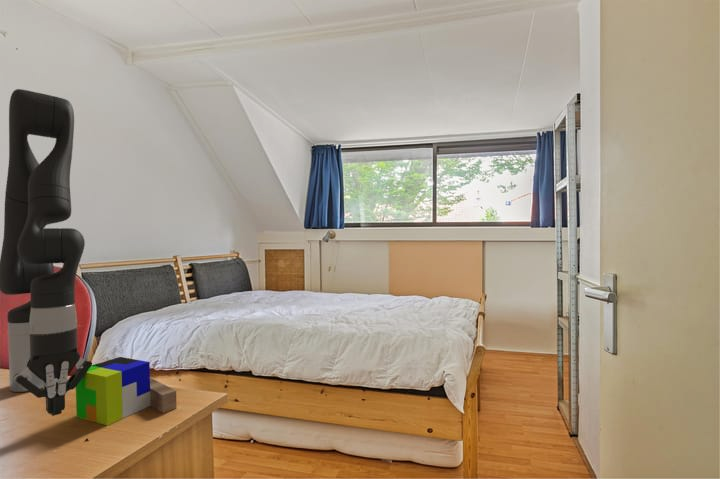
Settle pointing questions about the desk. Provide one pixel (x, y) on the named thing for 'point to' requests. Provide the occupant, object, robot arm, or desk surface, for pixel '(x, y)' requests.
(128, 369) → the puzzle toy
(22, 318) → the robot arm
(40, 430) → the desk surface
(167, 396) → the block
